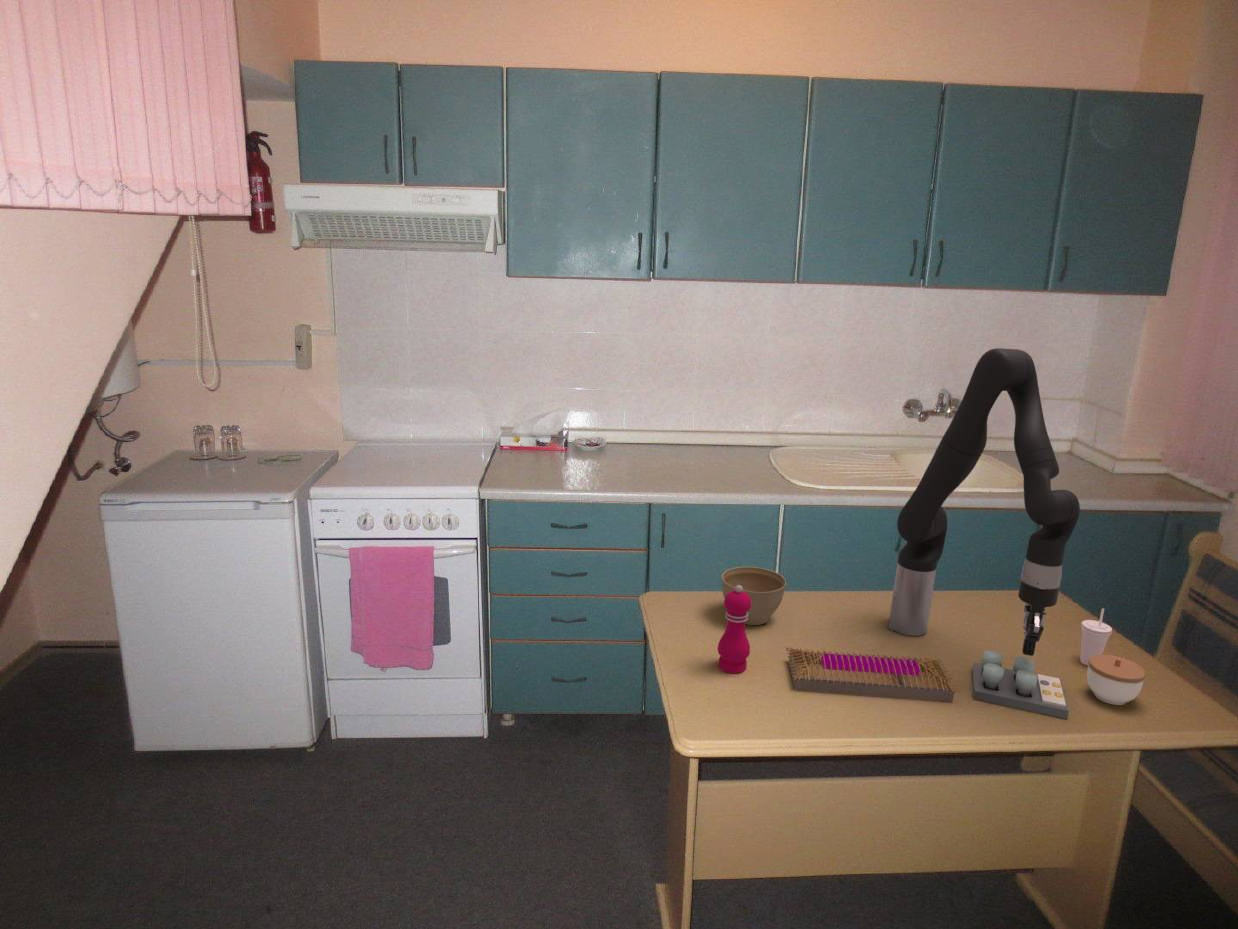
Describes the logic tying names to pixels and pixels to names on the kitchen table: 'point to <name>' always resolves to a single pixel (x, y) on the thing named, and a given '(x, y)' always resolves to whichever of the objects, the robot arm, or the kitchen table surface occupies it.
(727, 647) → the pepper mill
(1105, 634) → the smoothie
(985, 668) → the button near left
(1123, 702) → the lidded jar
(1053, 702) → the button board
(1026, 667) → the button far right
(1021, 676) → the button near right
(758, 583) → the planter bowl
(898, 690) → the rafter model
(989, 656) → the button far left
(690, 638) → the kitchen table surface
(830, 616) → the kitchen table surface
